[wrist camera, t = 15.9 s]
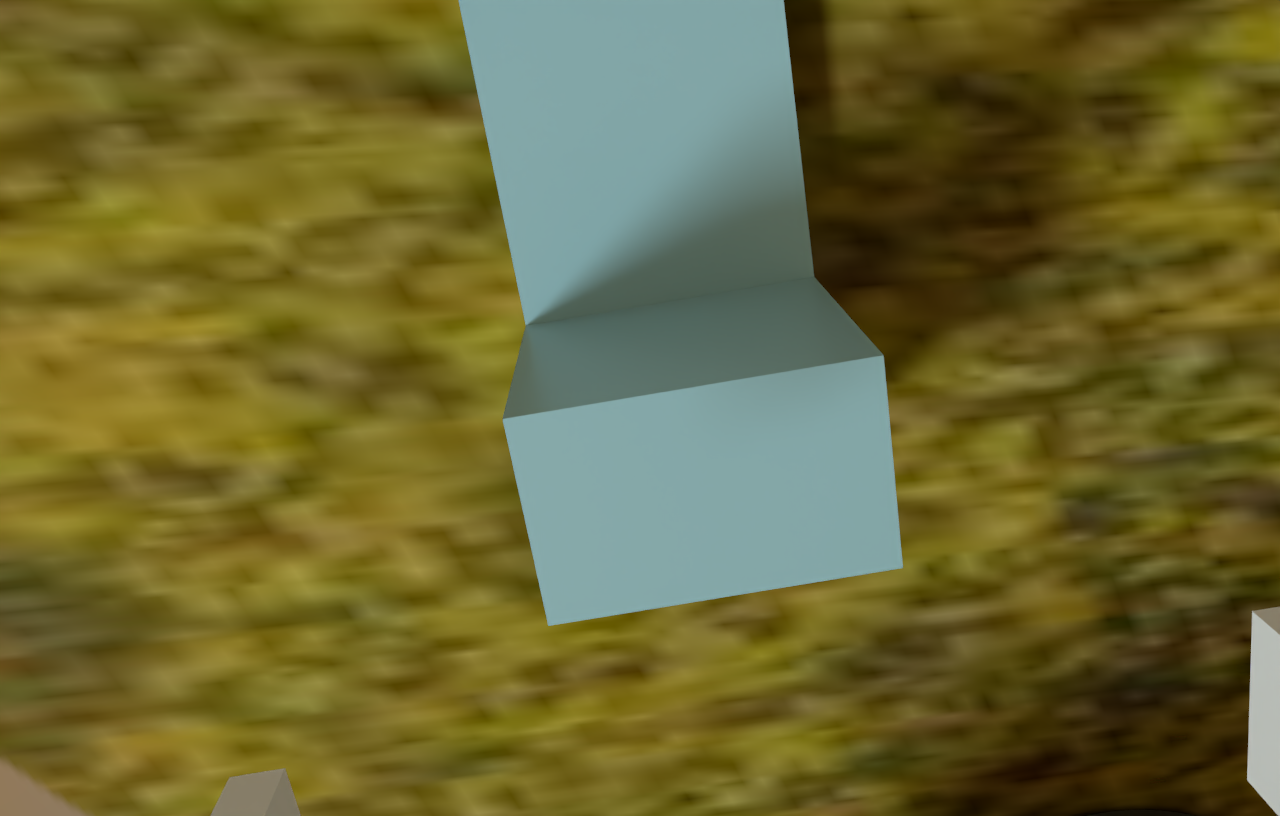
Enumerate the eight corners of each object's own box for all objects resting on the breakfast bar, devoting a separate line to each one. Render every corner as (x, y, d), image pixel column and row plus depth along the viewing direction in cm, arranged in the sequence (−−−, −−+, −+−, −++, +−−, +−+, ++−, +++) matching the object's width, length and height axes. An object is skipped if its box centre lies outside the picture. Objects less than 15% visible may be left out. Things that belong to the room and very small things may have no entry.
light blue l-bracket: (822, 426, 32) (903, 567, 24) (561, 470, 32) (548, 626, 24) (717, -497, 24) (780, -779, 16) (376, -434, 25) (259, -681, 16)
